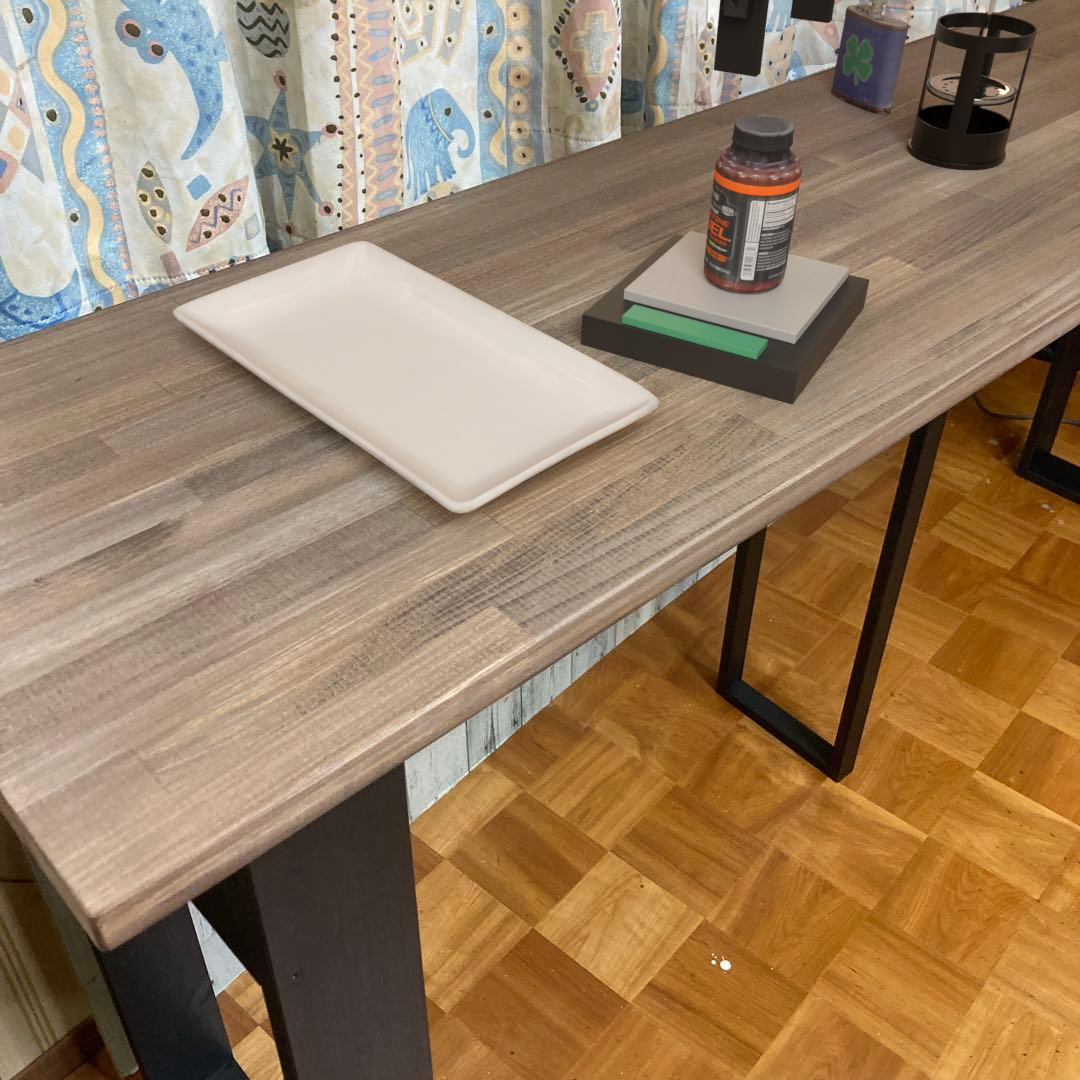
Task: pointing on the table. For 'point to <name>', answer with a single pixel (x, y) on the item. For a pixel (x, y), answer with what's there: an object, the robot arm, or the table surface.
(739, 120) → the supplement bottle
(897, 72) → the flask
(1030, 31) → the french press
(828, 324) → the scale
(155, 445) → the table surface
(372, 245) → the tray
